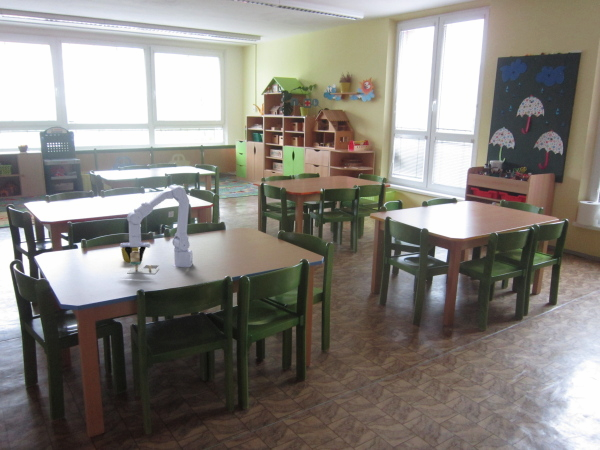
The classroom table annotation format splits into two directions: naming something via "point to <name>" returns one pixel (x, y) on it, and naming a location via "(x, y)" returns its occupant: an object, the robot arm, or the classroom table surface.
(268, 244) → the classroom table surface
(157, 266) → the pad
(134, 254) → the sleeve
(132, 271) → the pin board
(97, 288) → the classroom table surface
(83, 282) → the classroom table surface
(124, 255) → the flower pot
